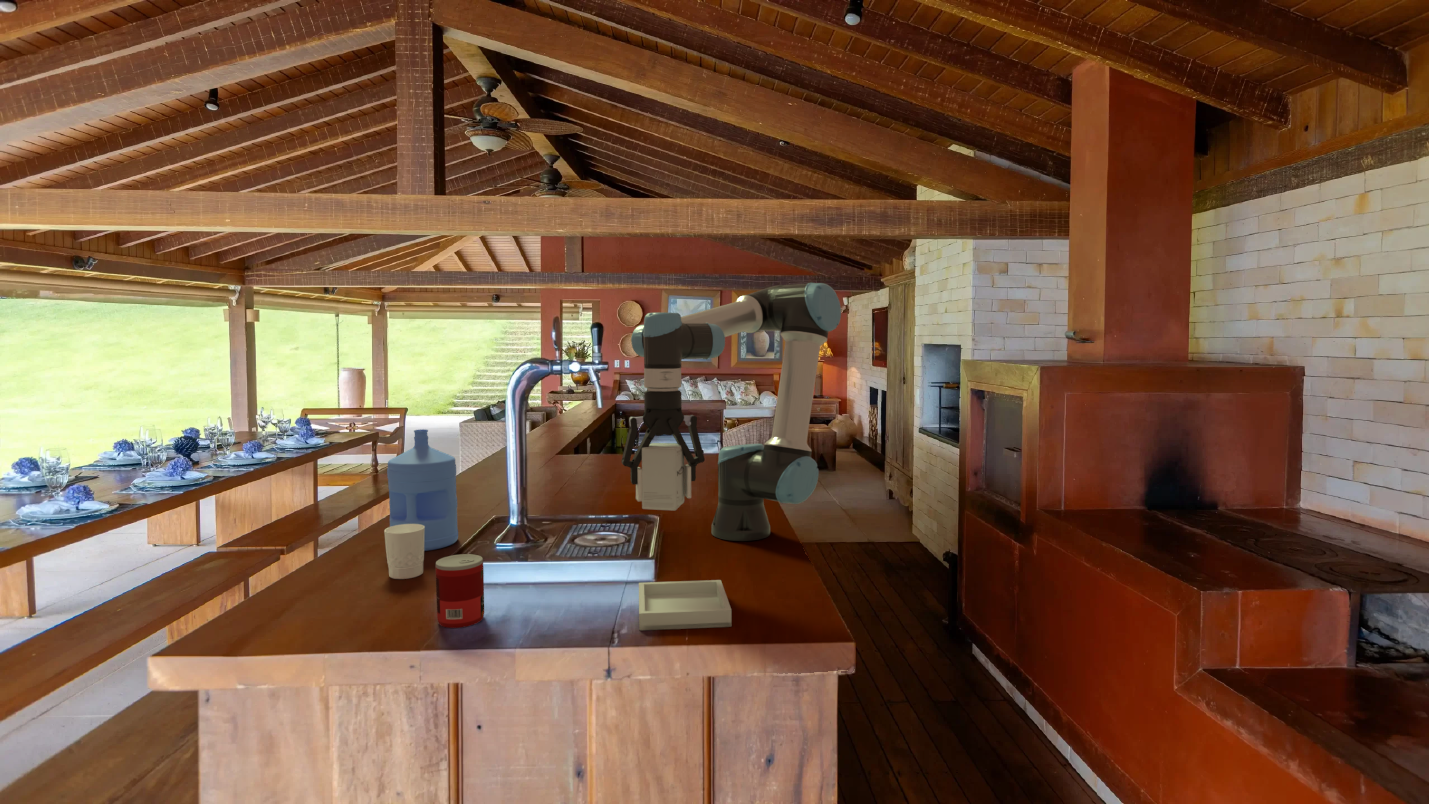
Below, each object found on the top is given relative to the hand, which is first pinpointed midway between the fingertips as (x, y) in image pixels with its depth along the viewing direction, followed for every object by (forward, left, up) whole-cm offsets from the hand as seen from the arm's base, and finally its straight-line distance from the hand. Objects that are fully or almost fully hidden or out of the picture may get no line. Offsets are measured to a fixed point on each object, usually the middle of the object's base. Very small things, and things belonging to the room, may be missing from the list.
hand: (663, 498), depth 149 cm
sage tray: (+10, +14, -17) cm, 24 cm away
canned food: (+38, -14, -18) cm, 44 cm away
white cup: (+31, -46, -18) cm, 58 cm away
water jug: (+16, -65, -18) cm, 69 cm away
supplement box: (0, 0, -2) cm, 2 cm away
